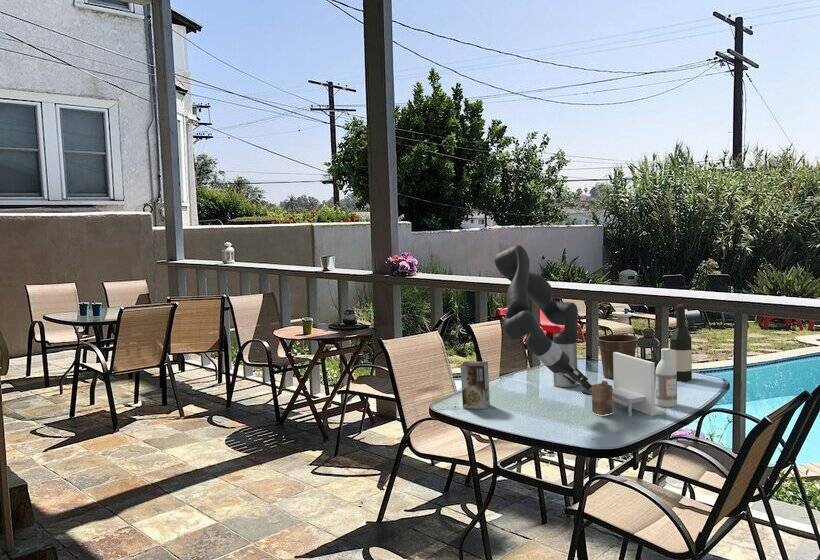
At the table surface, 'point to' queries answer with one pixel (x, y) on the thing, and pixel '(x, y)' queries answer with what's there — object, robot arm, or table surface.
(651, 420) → the table surface
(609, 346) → the plant pot
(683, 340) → the wine bottle
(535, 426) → the table surface
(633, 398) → the wall shelf
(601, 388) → the brown tall block
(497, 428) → the table surface
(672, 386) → the bath foam
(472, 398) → the coffee box
